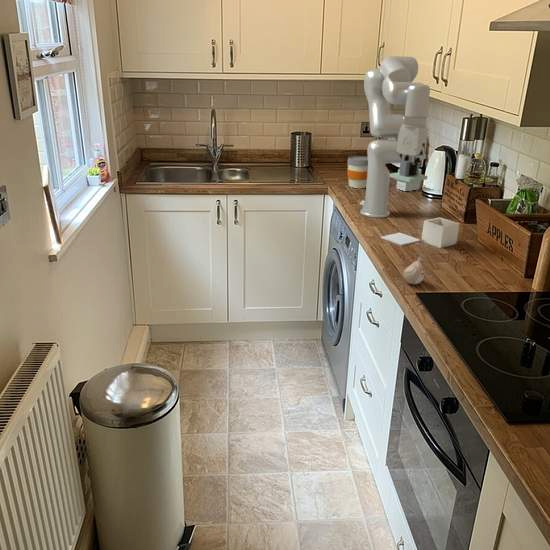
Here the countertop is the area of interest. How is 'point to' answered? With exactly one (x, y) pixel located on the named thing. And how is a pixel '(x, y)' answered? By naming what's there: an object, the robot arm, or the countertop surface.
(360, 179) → the reusable coffee cup
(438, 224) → the tub
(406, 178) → the lid
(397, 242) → the mat
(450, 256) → the countertop surface
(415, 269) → the garlic bulb
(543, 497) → the countertop surface
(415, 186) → the light bulb box
